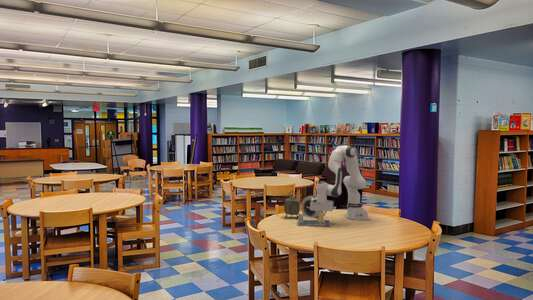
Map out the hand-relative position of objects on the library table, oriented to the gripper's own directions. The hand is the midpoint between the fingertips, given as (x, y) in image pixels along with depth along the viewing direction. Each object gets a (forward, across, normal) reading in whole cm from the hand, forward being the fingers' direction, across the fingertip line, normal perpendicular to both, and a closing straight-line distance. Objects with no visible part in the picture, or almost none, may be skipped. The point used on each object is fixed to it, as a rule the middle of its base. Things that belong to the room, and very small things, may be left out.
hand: (321, 215), depth 337 cm
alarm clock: (+8, +6, -30) cm, 32 cm away
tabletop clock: (+8, +26, -20) cm, 33 cm away
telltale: (+6, +1, +6) cm, 9 cm away
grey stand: (+6, +6, +2) cm, 9 cm away
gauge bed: (+8, +6, 0) cm, 9 cm away
